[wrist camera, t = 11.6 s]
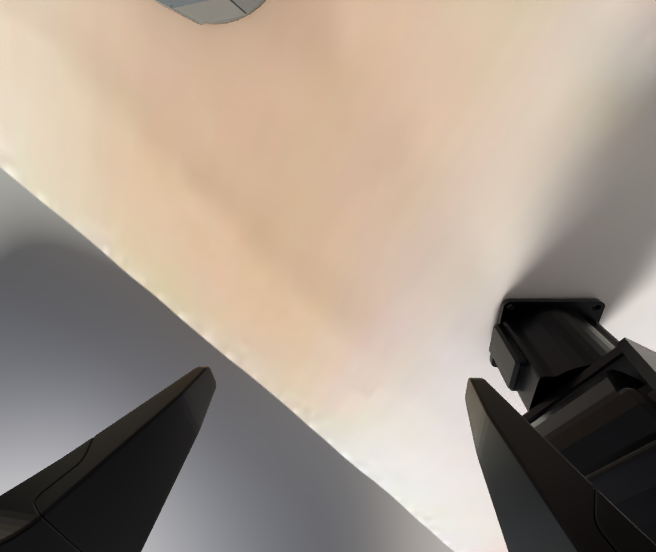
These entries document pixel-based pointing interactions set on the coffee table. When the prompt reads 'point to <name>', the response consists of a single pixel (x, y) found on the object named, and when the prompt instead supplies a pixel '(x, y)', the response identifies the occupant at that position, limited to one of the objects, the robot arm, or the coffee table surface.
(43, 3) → the coffee table surface
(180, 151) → the coffee table surface
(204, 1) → the ring holder
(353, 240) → the coffee table surface
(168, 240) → the coffee table surface
